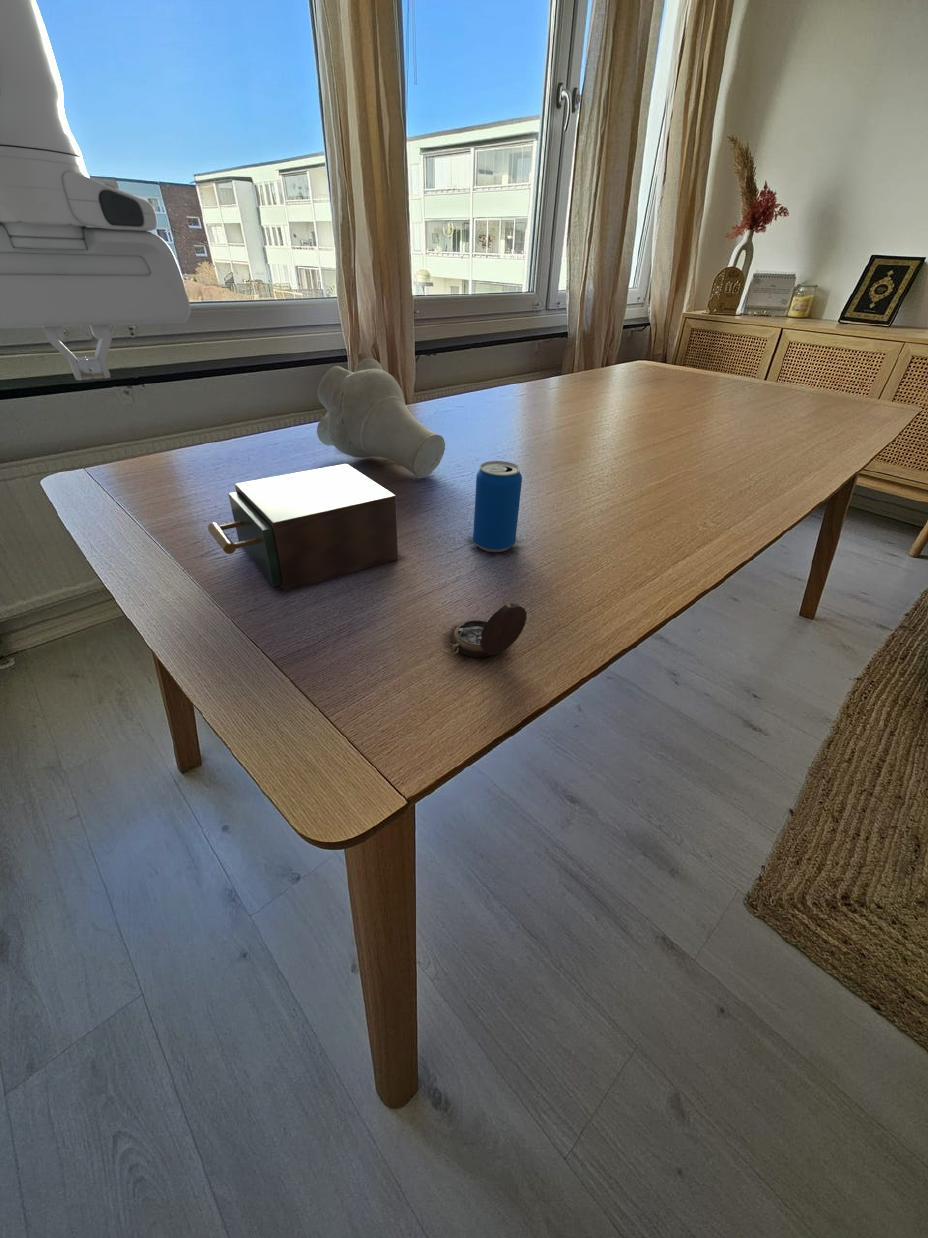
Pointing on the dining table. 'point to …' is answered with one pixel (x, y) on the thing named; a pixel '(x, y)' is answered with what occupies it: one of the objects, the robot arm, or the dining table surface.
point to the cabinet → (325, 522)
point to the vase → (375, 419)
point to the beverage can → (496, 505)
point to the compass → (489, 632)
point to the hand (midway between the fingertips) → (93, 378)
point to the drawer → (250, 537)
